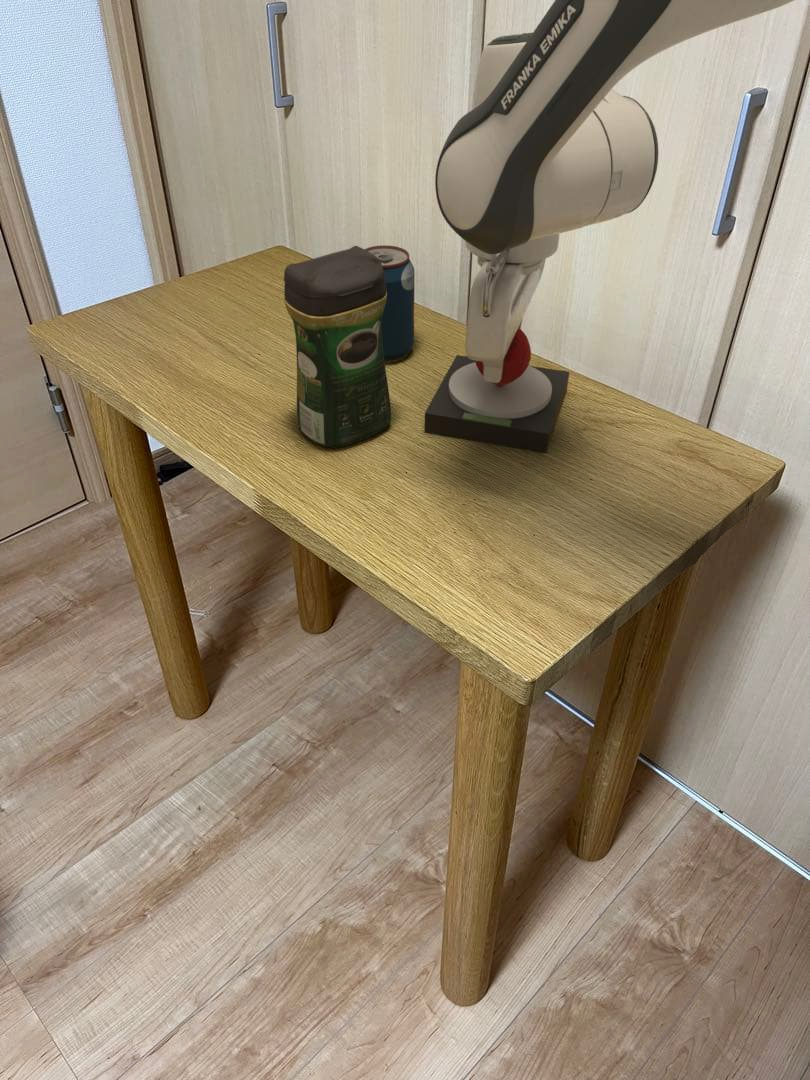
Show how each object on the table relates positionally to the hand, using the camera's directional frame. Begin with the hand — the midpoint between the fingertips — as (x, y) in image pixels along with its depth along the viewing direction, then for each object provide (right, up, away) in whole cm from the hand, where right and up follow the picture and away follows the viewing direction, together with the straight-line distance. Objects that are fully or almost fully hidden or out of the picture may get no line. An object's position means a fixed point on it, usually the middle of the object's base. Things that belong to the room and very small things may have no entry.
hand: (502, 359), depth 89 cm
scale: (0, -5, +4) cm, 6 cm away
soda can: (-13, +4, +14) cm, 19 cm away
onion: (0, -3, +2) cm, 3 cm away
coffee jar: (-17, -7, +2) cm, 18 cm away
